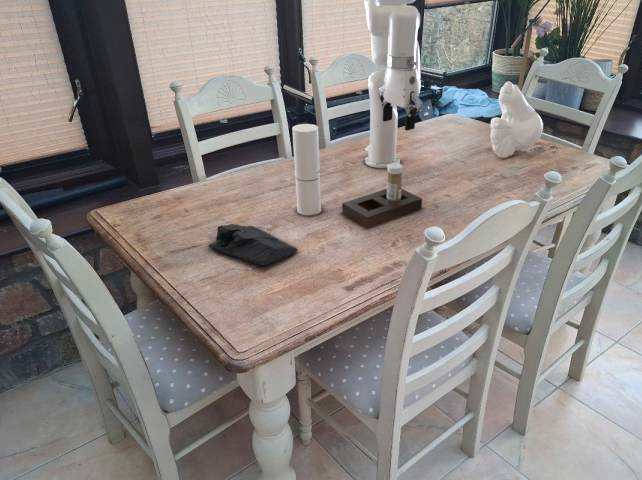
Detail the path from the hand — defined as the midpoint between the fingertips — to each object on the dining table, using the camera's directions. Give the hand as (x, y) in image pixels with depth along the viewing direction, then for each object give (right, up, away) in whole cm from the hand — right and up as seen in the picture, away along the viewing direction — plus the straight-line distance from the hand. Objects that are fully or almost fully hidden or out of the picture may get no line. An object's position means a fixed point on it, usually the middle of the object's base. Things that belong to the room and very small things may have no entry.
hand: (398, 124), depth 155 cm
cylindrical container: (-26, -24, +8) cm, 36 cm away
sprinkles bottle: (-1, -22, +10) cm, 24 cm away
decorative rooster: (+46, +5, +50) cm, 68 cm away
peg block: (-4, -24, +7) cm, 25 cm away
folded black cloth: (-39, -37, -12) cm, 55 cm away
